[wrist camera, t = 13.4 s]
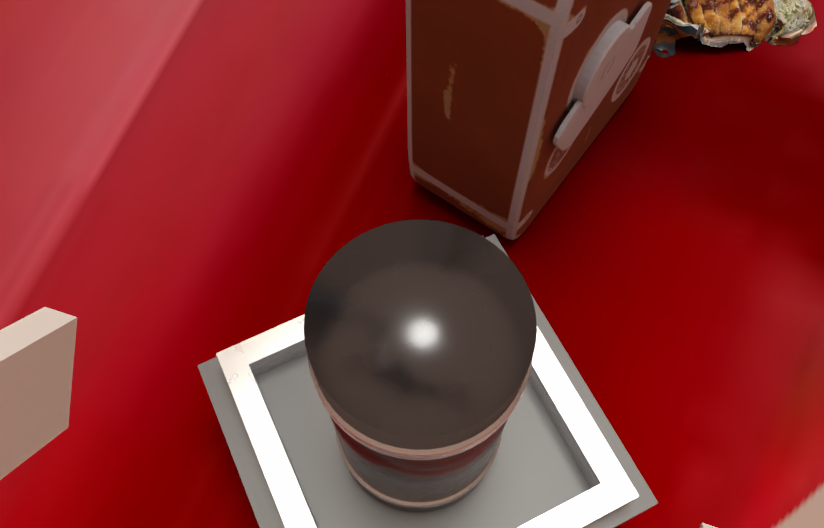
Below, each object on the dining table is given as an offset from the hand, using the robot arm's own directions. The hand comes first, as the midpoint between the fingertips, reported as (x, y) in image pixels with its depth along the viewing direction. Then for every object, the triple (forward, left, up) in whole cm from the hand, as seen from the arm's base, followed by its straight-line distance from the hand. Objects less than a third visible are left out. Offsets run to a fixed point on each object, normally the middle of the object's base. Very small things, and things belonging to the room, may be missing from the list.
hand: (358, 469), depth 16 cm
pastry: (+32, +20, -21) cm, 44 cm away
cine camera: (+19, +18, -21) cm, 34 cm away
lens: (+3, +3, -15) cm, 15 cm away
